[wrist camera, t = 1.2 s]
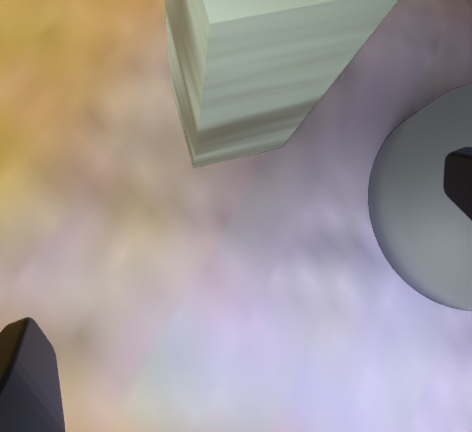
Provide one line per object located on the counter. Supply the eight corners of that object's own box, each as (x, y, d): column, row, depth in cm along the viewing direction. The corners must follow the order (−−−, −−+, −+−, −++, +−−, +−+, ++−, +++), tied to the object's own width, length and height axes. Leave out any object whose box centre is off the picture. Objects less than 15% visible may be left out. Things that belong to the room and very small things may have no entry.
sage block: (281, 147, 23) (408, -13, 10) (193, 168, 22) (209, 23, 9) (257, 63, 23) (348, -191, 10) (169, 81, 22) (154, -171, 10)
